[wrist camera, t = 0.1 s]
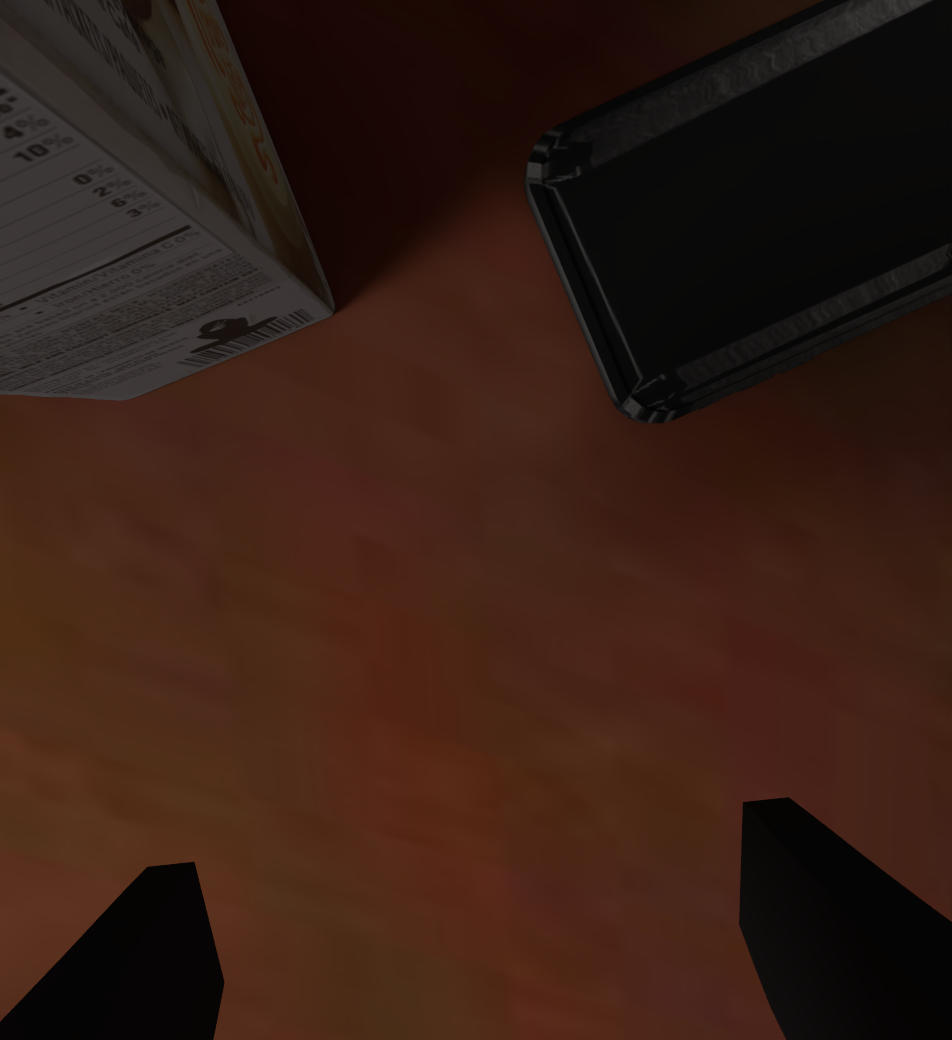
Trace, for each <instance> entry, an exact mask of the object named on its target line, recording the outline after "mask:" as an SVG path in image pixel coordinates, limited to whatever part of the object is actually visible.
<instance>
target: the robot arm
mask: <svg viewBox="0 0 952 1040" xmlns="http://www.w3.org/2000/svg"><path fill="white" fill-rule="evenodd" d="M739 925H740V928H741V931H742V933H743V936H744V939H745V942H746V944H747V947H748V950H749V952H750V955H751V958H752V960H753V963H754V966H755V969H756V971H757V974H758V976H759V979H760V981H761V984H762V987H763V989H764V992H765V994H766V997H767V999H768V1002H769V1004H770V1007H771V1009H772V1011H773V1013H774V1015H775V1017H776V1020H777V1022H778V1024H779V1026H780V1028H781V1030H782V1032H783V1034H784V1036H785V1038H786V1040H952V922H951V921H950V920H948V919H947V918H946V917H944V916H943V915H941V914H940V913H939V912H937V911H936V910H935V909H933V908H932V907H931V906H929V905H928V904H927V903H925V902H924V901H923V900H921V899H920V898H919V897H917V896H916V895H915V894H913V893H912V892H910V891H909V890H908V889H907V888H905V887H904V886H903V885H901V884H900V883H899V882H897V881H896V880H895V879H893V878H892V877H891V876H889V875H888V874H887V873H886V872H884V871H883V870H882V869H880V868H879V867H878V866H876V865H875V864H874V863H873V862H871V861H870V860H869V859H867V858H866V857H865V856H864V855H862V854H861V853H860V852H858V851H857V850H856V849H855V848H853V847H852V846H851V845H849V844H848V843H847V842H846V841H844V840H843V839H842V838H841V837H839V836H838V835H837V834H835V833H834V832H833V831H832V830H830V829H829V828H828V827H827V826H825V825H824V824H823V823H821V822H820V821H819V820H818V819H816V818H815V817H814V816H812V815H811V814H810V813H809V812H807V811H806V810H805V809H803V808H802V807H801V806H799V805H798V804H797V803H795V802H794V801H793V800H792V799H790V798H789V797H787V798H777V799H768V800H759V801H750V802H743V817H742V849H741V881H740V913H739ZM224 983H225V982H224V978H223V974H222V970H221V966H220V962H219V958H218V954H217V950H216V946H215V942H214V938H213V934H212V930H211V926H210V922H209V918H208V914H207V910H206V906H205V902H204V898H203V894H202V890H201V886H200V882H199V878H198V874H197V870H196V866H195V862H188V863H179V864H170V865H160V866H151V867H147V868H146V869H145V870H144V871H143V872H142V873H141V874H140V875H139V876H138V877H137V878H136V879H135V880H134V881H133V882H132V883H131V884H130V885H129V886H128V887H127V888H126V889H125V890H124V891H123V892H122V894H121V895H120V896H119V897H118V898H117V899H116V900H115V901H114V902H113V903H112V904H111V905H110V906H109V907H108V909H107V910H106V911H105V912H104V913H103V914H102V915H101V916H100V917H99V918H98V919H97V920H96V921H95V922H94V924H93V925H92V926H91V927H90V928H89V929H88V930H87V931H86V932H85V933H84V934H83V935H82V936H81V938H80V939H79V940H78V941H77V942H76V943H75V944H74V945H73V946H72V947H71V948H70V949H69V950H68V951H67V952H66V954H65V955H64V956H63V957H62V958H61V959H60V960H59V961H58V962H57V963H56V964H55V965H54V966H53V967H52V968H51V969H50V970H49V971H48V972H47V973H46V975H45V976H44V977H43V978H42V979H41V980H40V981H39V982H38V983H37V984H36V985H35V986H34V987H33V988H32V989H31V990H30V991H29V992H28V993H27V994H26V995H25V996H24V998H23V999H22V1000H21V1001H20V1002H19V1003H18V1004H17V1005H16V1006H15V1007H14V1008H13V1009H12V1010H11V1011H10V1012H9V1013H8V1014H7V1015H6V1016H5V1017H4V1018H3V1019H2V1020H1V1021H0V1040H213V1038H214V1034H215V1029H216V1024H217V1018H218V1013H219V1008H220V1003H221V998H222V993H223V988H224Z"/></svg>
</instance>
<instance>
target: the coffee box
mask: <svg viewBox="0 0 952 1040" xmlns="http://www.w3.org/2000/svg"><path fill="white" fill-rule="evenodd" d="M334 311H335V304H334V301H333V297H332V294H331V291H330V288H329V286H328V283H327V280H326V277H325V275H324V272H323V269H322V267H321V264H320V262H319V259H318V256H317V254H316V251H315V249H314V246H313V244H312V241H311V238H310V236H309V233H308V231H307V228H306V226H305V223H304V220H303V218H302V215H301V213H300V210H299V208H298V205H297V203H296V200H295V198H294V195H293V193H292V190H291V187H290V185H289V182H288V180H287V177H286V175H285V172H284V170H283V167H282V165H281V162H280V160H279V157H278V154H277V152H276V149H275V147H274V144H273V142H272V139H271V137H270V134H269V132H268V129H267V127H266V124H265V122H264V119H263V117H262V114H261V112H260V109H259V107H258V104H257V102H256V99H255V97H254V94H253V92H252V89H251V87H250V84H249V82H248V79H247V77H246V74H245V72H244V69H243V67H242V64H241V62H240V59H239V57H238V54H237V52H236V49H235V47H234V44H233V42H232V39H231V37H230V34H229V32H228V29H227V27H226V24H225V22H224V19H223V17H222V14H221V12H220V9H219V7H218V4H217V2H216V0H0V394H18V395H29V396H42V397H75V398H92V399H100V400H127V399H131V398H134V397H137V396H140V395H142V394H145V393H148V392H150V391H152V390H155V389H157V388H160V387H162V386H164V385H167V384H169V383H172V382H174V381H176V380H179V379H181V378H184V377H186V376H189V375H191V374H193V373H196V372H198V371H201V370H203V369H205V368H208V367H210V366H213V365H215V364H218V363H220V362H223V361H225V360H228V359H230V358H232V357H235V356H237V355H240V354H242V353H245V352H247V351H250V350H252V349H254V348H257V347H259V346H262V345H264V344H267V343H269V342H271V341H274V340H276V339H278V338H281V337H283V336H285V335H288V334H290V333H292V332H295V331H297V330H299V329H302V328H304V327H306V326H309V325H311V324H314V323H316V322H318V321H321V320H323V319H326V318H328V317H330V316H332V315H333V313H334Z"/></svg>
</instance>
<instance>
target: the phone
mask: <svg viewBox="0 0 952 1040" xmlns="http://www.w3.org/2000/svg"><path fill="white" fill-rule="evenodd" d="M524 189H525V193H526V197H527V201H528V204H529V206H530V208H531V211H532V213H533V215H534V218H535V220H536V223H537V225H538V227H539V230H540V232H541V234H542V237H543V239H544V242H545V244H546V246H547V249H548V251H549V254H550V256H551V258H552V261H553V263H554V265H555V268H556V270H557V273H558V275H559V277H560V280H561V282H562V285H563V287H564V289H565V292H566V294H567V296H568V299H569V301H570V304H571V306H572V308H573V311H574V313H575V316H576V318H577V320H578V323H579V325H580V327H581V330H582V332H583V335H584V337H585V339H586V342H587V344H588V347H589V349H590V351H591V354H592V356H593V358H594V361H595V363H596V366H597V368H598V370H599V373H600V375H601V377H602V380H603V382H604V385H605V387H606V389H607V392H608V394H609V397H610V398H611V400H612V402H613V403H614V405H615V407H616V408H617V409H618V410H619V411H620V412H621V413H622V414H624V415H625V416H626V417H627V418H629V419H632V420H635V421H637V422H640V423H664V422H668V421H671V420H675V419H677V418H679V417H682V416H684V415H686V414H688V413H690V412H693V411H695V410H697V409H702V408H704V407H706V406H708V405H711V404H713V403H715V402H717V401H719V400H720V399H721V398H723V397H725V396H728V395H730V394H732V393H734V392H736V391H737V392H740V391H743V390H745V389H747V388H749V387H751V386H754V385H756V384H758V383H760V382H762V381H765V380H767V379H769V378H771V377H773V375H774V374H776V373H778V372H780V373H784V372H786V371H788V370H791V369H793V368H795V367H797V366H799V365H801V364H804V363H806V362H808V361H810V360H812V357H813V356H815V355H818V354H820V353H822V352H824V351H826V350H829V349H831V348H833V347H835V346H837V345H840V344H842V343H844V342H846V341H848V340H851V339H853V338H855V337H857V336H859V335H862V334H864V333H866V332H868V331H870V330H873V329H875V328H877V327H879V326H881V325H884V324H886V323H888V322H890V321H892V320H895V319H897V318H899V317H901V316H903V315H906V314H908V313H910V312H912V311H914V310H916V309H919V308H921V307H923V306H925V305H927V304H930V303H932V302H934V301H936V300H938V299H941V298H943V297H945V296H947V295H949V294H952V0H824V1H822V2H820V3H818V4H816V5H814V6H811V7H809V8H807V9H805V10H803V11H801V12H799V13H797V14H794V15H792V16H790V17H788V18H786V19H784V20H782V21H779V22H777V23H775V24H773V25H771V26H769V27H767V28H764V29H762V30H760V31H758V32H756V33H754V34H752V35H749V36H747V37H745V38H743V39H741V40H739V41H737V42H734V43H732V44H730V45H728V46H726V47H724V48H722V49H719V50H717V51H715V52H713V53H711V54H709V55H707V56H705V57H702V58H700V59H698V60H696V61H694V62H692V63H690V64H687V65H685V66H683V67H681V68H679V69H677V70H675V71H672V72H670V73H668V74H666V75H664V76H662V77H660V78H657V79H655V80H653V81H651V82H649V83H647V84H645V85H642V86H640V87H638V88H636V89H634V90H632V91H630V92H628V93H625V94H623V95H621V96H619V97H617V98H615V99H613V100H610V101H608V102H606V103H604V104H602V105H600V106H598V107H595V108H593V109H591V110H589V111H587V112H585V113H583V114H580V115H578V116H576V117H574V118H572V119H570V120H568V121H565V122H563V123H561V124H559V125H557V126H555V127H553V128H552V129H551V130H549V131H548V132H546V133H545V134H543V135H542V136H541V138H540V139H539V140H538V142H537V143H536V144H535V146H534V147H533V149H532V152H531V155H530V158H529V160H528V163H527V167H526V170H525V179H524Z"/></svg>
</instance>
